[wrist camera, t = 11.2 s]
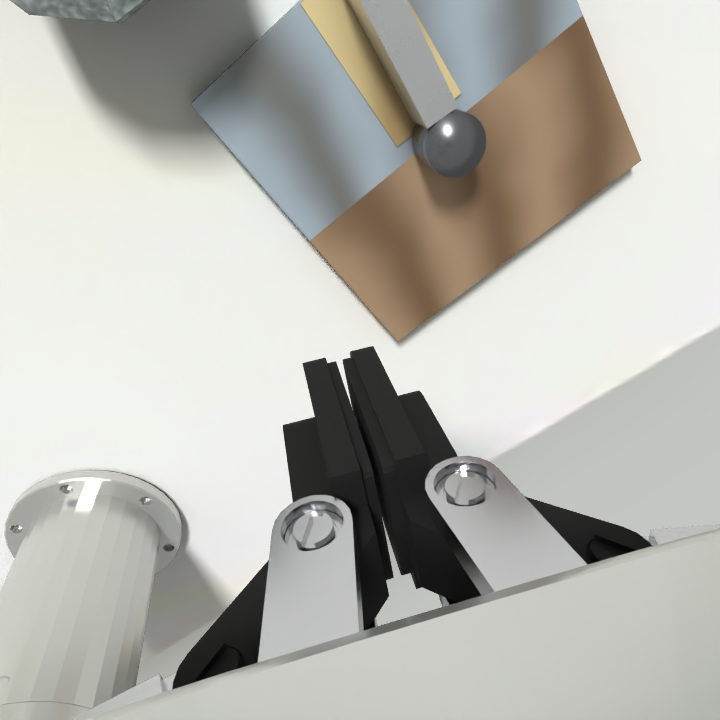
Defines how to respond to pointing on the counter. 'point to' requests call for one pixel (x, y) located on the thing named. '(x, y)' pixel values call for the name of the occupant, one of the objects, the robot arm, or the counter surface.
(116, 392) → the counter surface
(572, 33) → the latch board
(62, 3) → the mortar and pestle
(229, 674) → the robot arm
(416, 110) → the bar
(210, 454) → the counter surface
